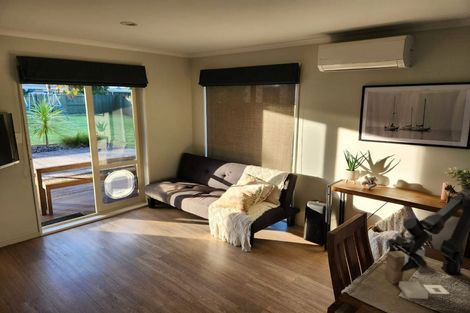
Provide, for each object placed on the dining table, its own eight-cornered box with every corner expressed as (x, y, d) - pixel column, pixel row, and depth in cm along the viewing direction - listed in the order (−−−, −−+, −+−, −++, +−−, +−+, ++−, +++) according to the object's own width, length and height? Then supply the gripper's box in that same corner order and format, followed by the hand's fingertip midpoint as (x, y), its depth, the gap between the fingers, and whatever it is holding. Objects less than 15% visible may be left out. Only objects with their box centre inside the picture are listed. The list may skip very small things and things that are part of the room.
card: (440, 285, 134) (440, 284, 134) (449, 294, 128) (449, 293, 128) (422, 285, 135) (422, 284, 134) (430, 294, 129) (430, 293, 129)
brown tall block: (394, 276, 142) (396, 250, 139) (401, 282, 137) (405, 256, 135) (384, 277, 141) (387, 252, 138) (392, 283, 136) (395, 257, 133)
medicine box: (419, 260, 156) (421, 245, 154) (423, 265, 151) (425, 249, 150) (403, 259, 157) (405, 244, 155) (407, 264, 152) (409, 248, 151)
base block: (416, 287, 134) (417, 281, 133) (427, 299, 126) (428, 292, 125) (398, 287, 134) (399, 281, 133) (408, 298, 126) (409, 292, 125)
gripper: (392, 222, 144) (370, 245, 144) (424, 239, 126) (399, 266, 126) (404, 236, 147) (383, 259, 147) (437, 255, 130) (413, 281, 129)
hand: (393, 265), depth 137 cm, fingers open, 9 cm apart
